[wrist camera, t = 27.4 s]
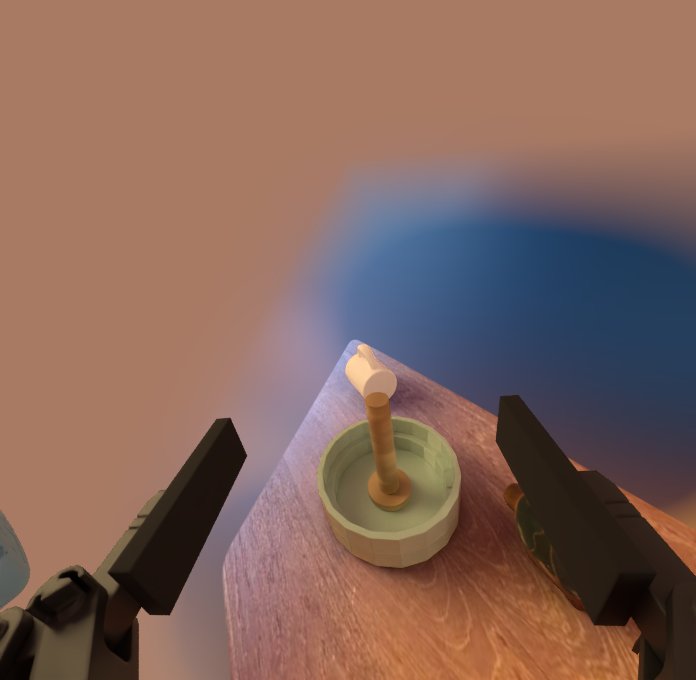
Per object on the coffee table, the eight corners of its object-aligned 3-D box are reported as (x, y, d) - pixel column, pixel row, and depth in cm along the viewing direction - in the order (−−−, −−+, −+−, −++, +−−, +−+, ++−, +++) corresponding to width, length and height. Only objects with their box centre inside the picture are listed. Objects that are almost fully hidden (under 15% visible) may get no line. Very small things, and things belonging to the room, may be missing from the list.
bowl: (301, 533, 38) (289, 504, 36) (357, 433, 54) (352, 407, 51) (448, 603, 29) (447, 571, 27) (466, 459, 45) (467, 429, 42)
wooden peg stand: (362, 502, 40) (342, 411, 33) (377, 467, 45) (363, 381, 38) (404, 518, 37) (393, 421, 30) (416, 478, 42) (408, 387, 35)
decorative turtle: (635, 687, 23) (654, 643, 20) (480, 531, 36) (477, 490, 33) (688, 606, 26) (711, 557, 23) (528, 490, 39) (529, 449, 36)
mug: (366, 410, 59) (358, 362, 54) (348, 386, 68) (339, 344, 63) (398, 396, 62) (394, 349, 57) (377, 375, 71) (371, 333, 66)
